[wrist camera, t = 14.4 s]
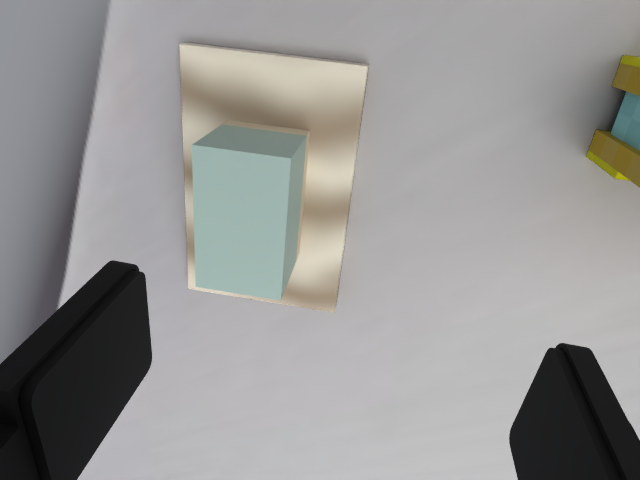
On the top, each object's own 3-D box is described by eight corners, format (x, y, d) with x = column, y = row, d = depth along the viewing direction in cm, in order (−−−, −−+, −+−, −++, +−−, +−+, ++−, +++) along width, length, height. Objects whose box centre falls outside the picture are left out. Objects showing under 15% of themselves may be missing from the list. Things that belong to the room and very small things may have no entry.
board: (187, 42, 33) (179, 44, 32) (369, 64, 32) (367, 66, 31) (194, 280, 43) (188, 288, 41) (336, 302, 41) (334, 312, 40)
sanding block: (228, 119, 34) (191, 144, 28) (310, 130, 34) (291, 158, 27) (227, 241, 39) (195, 286, 32) (299, 252, 38) (280, 300, 32)
